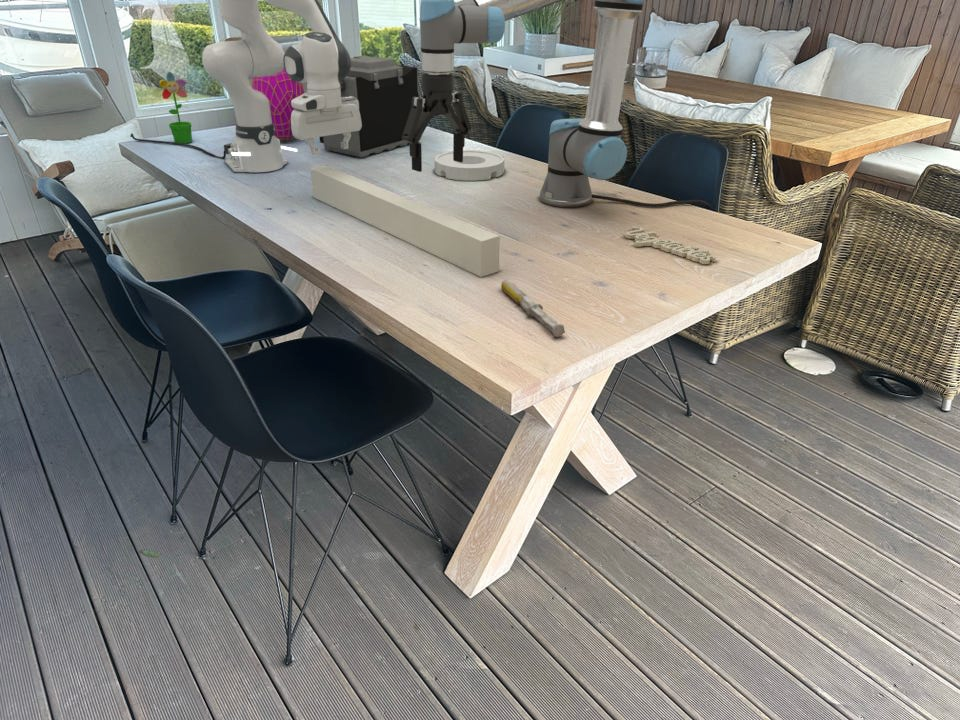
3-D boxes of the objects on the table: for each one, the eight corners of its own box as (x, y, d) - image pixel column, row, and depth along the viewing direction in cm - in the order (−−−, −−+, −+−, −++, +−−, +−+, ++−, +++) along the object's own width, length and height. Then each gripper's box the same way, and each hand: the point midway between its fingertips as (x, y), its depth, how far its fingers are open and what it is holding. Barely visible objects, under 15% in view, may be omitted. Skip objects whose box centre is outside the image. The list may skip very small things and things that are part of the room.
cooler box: (383, 133, 276) (378, 52, 261) (425, 141, 265) (422, 56, 250) (314, 150, 251) (304, 61, 235) (358, 160, 240) (350, 67, 224)
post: (499, 271, 157) (500, 235, 153) (481, 277, 154) (481, 241, 150) (329, 193, 206) (326, 165, 202) (313, 197, 203) (310, 168, 199)
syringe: (497, 287, 149) (497, 275, 147) (512, 284, 150) (513, 273, 149) (547, 340, 129) (548, 327, 128) (565, 336, 130) (566, 324, 129)
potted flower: (172, 145, 255) (157, 73, 243) (170, 140, 261) (154, 70, 249) (199, 142, 259) (185, 71, 247) (196, 138, 265) (182, 68, 253)
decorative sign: (611, 234, 176) (635, 225, 181) (610, 237, 176) (634, 229, 182) (700, 264, 159) (723, 254, 164) (699, 268, 159) (723, 257, 165)
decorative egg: (293, 132, 276) (283, 50, 261) (319, 140, 264) (310, 56, 249) (249, 139, 265) (236, 54, 250) (273, 148, 253) (261, 60, 238)
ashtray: (437, 161, 240) (437, 149, 238) (504, 162, 239) (504, 150, 237) (431, 179, 220) (431, 167, 218) (504, 181, 219) (504, 168, 217)
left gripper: (351, 93, 193) (356, 143, 200) (285, 101, 182) (292, 154, 189) (364, 96, 189) (367, 147, 196) (296, 105, 178) (303, 159, 184)
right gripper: (464, 66, 167) (463, 154, 178) (384, 74, 151) (388, 171, 162) (487, 69, 163) (484, 160, 173) (406, 79, 147) (408, 177, 158)
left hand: (330, 151), depth 192 cm, fingers open, 8 cm apart
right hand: (438, 165), depth 168 cm, fingers open, 13 cm apart
